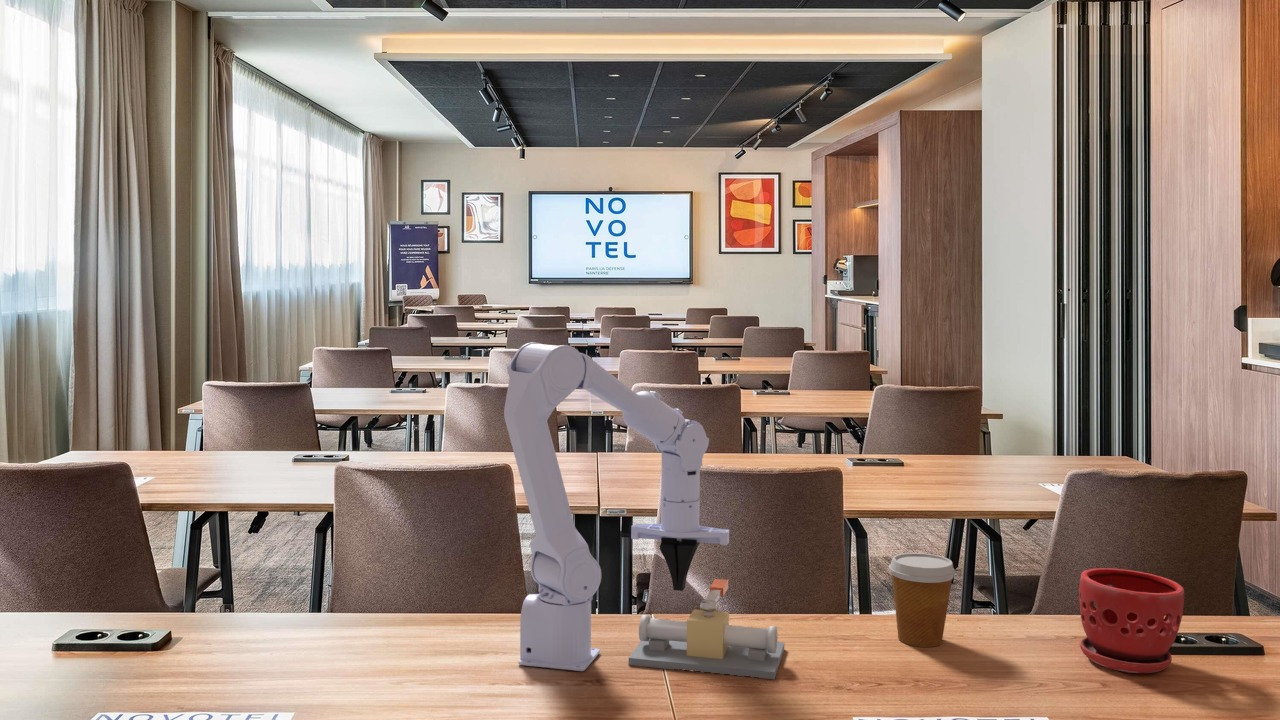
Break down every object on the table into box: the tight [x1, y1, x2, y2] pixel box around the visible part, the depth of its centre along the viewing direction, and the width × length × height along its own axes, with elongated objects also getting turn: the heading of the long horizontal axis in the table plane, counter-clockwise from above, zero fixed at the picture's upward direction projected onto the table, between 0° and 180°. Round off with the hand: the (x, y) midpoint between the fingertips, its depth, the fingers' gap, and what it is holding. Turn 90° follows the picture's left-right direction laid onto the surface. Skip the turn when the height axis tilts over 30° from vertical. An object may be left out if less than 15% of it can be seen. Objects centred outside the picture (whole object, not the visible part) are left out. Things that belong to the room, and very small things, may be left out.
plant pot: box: [1078, 567, 1185, 674], centre depth 143 cm, size 13×13×12 cm
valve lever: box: [699, 578, 729, 612], centre depth 148 cm, size 12×2×1 cm, turn 166°
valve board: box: [628, 609, 785, 681], centre depth 144 cm, size 20×12×7 cm, turn 76°
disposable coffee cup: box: [888, 552, 956, 648], centre depth 152 cm, size 10×10×12 cm
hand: (679, 588), depth 153 cm, fingers closed
